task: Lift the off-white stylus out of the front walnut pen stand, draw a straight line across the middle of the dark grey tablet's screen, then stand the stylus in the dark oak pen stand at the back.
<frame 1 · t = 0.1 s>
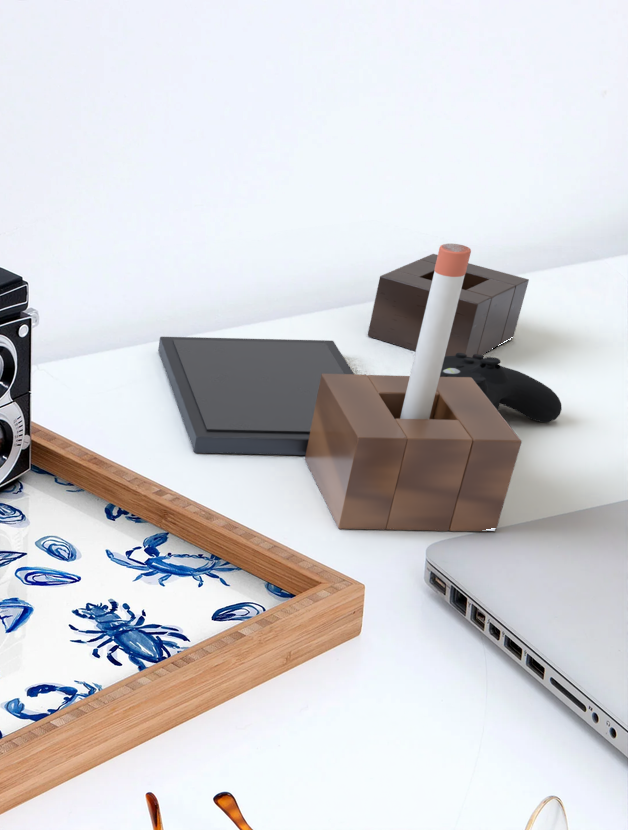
back stand: (439, 337, 96), on the table
stylus: (424, 377, 73), in the front stand
game controller: (466, 429, 84), on the table
tablet: (267, 400, 87), on the table
front stand: (396, 494, 77), on the table
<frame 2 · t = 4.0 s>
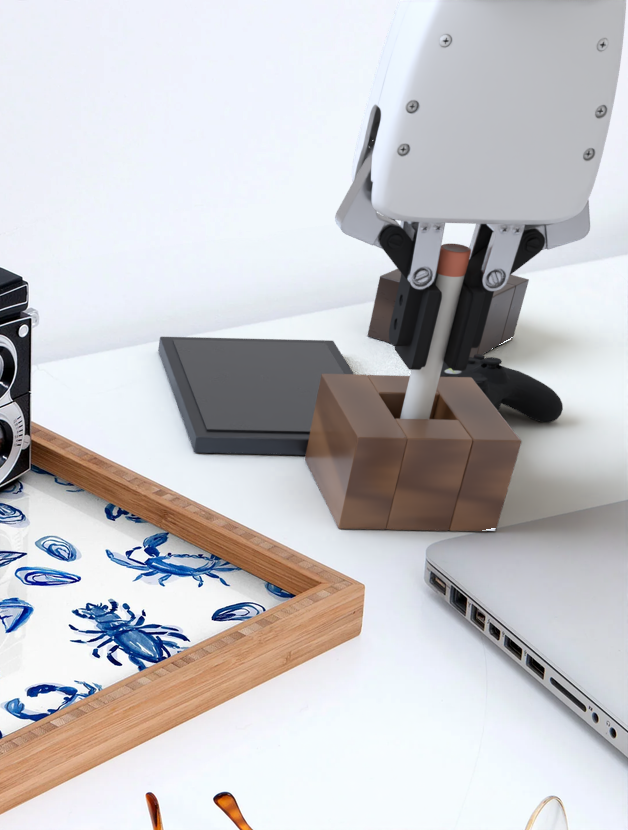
hand: (429, 357, 73), 8 cm above the table, tool pointing down, fingers closed on stylus, 1 cm apart
stylus: (424, 377, 73), in the front stand, touching gripper
everything else where it was.
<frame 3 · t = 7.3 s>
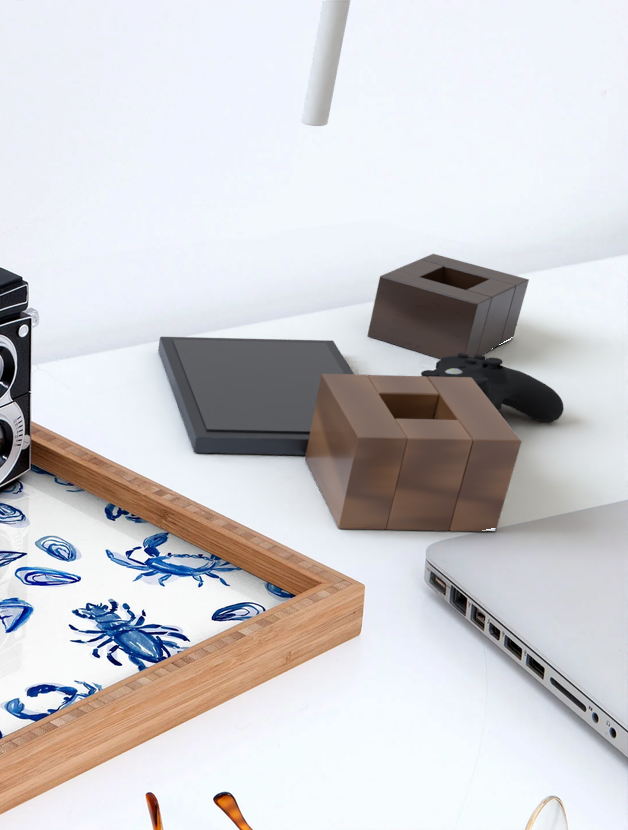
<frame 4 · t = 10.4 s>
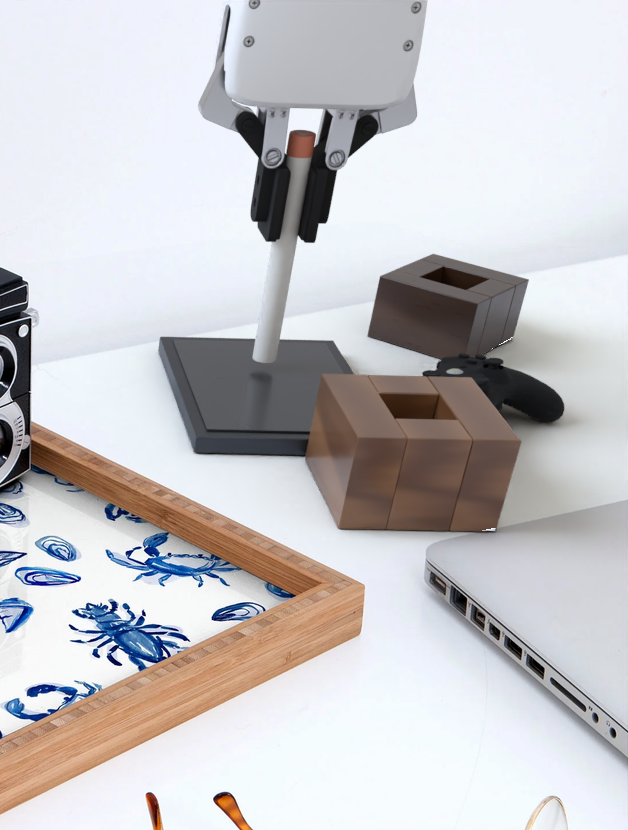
hand: (285, 233, 83), 9 cm above the table, tool pointing down, fingers closed on stylus, 1 cm apart
stylus: (282, 251, 84), point 8 cm above the table, touching gripper
everything else where it was.
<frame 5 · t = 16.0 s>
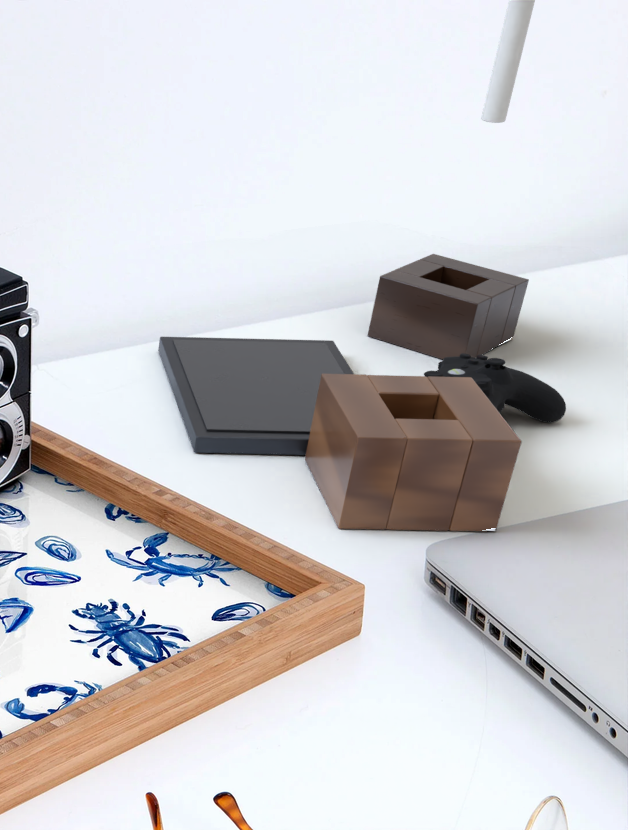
stylus: (521, 1, 84), point 20 cm above the table, touching gripper
everything else where it was.
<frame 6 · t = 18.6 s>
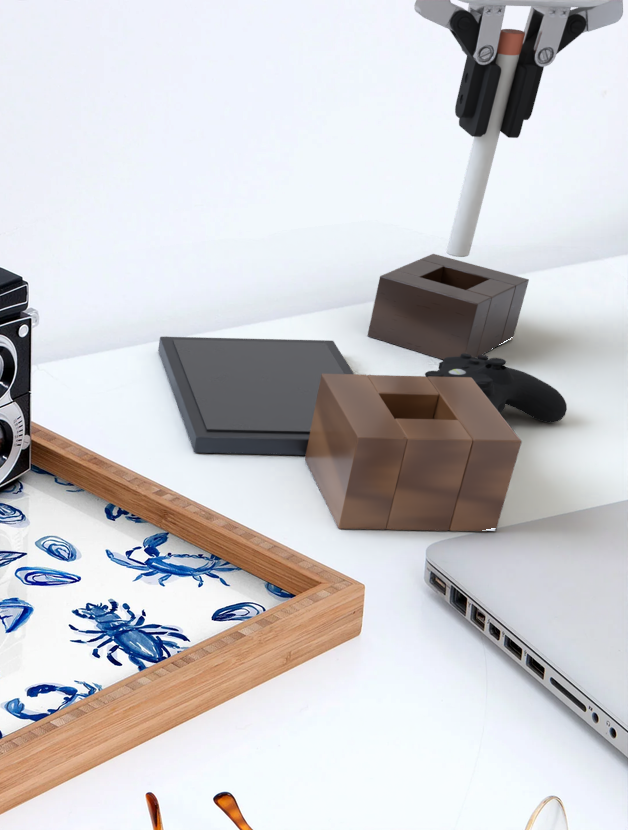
hand: (488, 129, 88), 13 cm above the table, tool pointing down, fingers closed on stylus, 1 cm apart
stylus: (483, 147, 89), point 12 cm above the table, touching gripper
everything else where it was.
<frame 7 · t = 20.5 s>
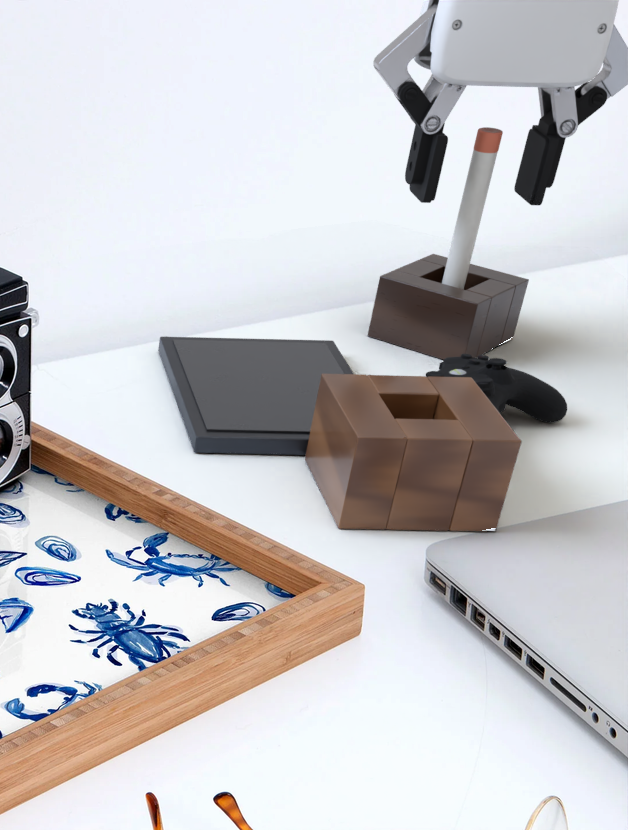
hand: (474, 195, 90), 9 cm above the table, tool pointing down, fingers open, 6 cm apart
stylus: (464, 238, 92), in the back stand
everything else where it was.
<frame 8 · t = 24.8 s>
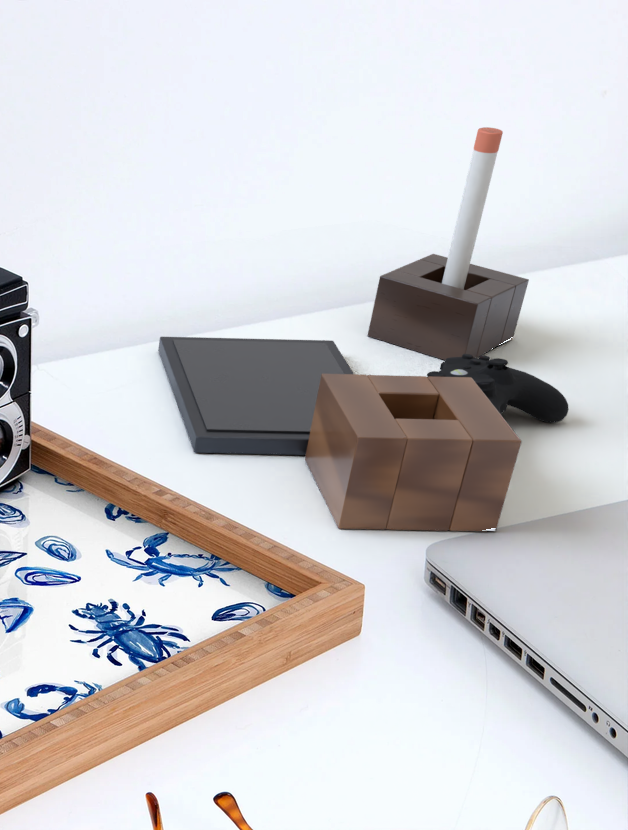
nothing on the table moved.
at the end: stylus 0.0 cm off-centre in the back stand, point 6.5 cm above the back stand's base; stylus tilted 0°; the gripper is holding nothing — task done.
